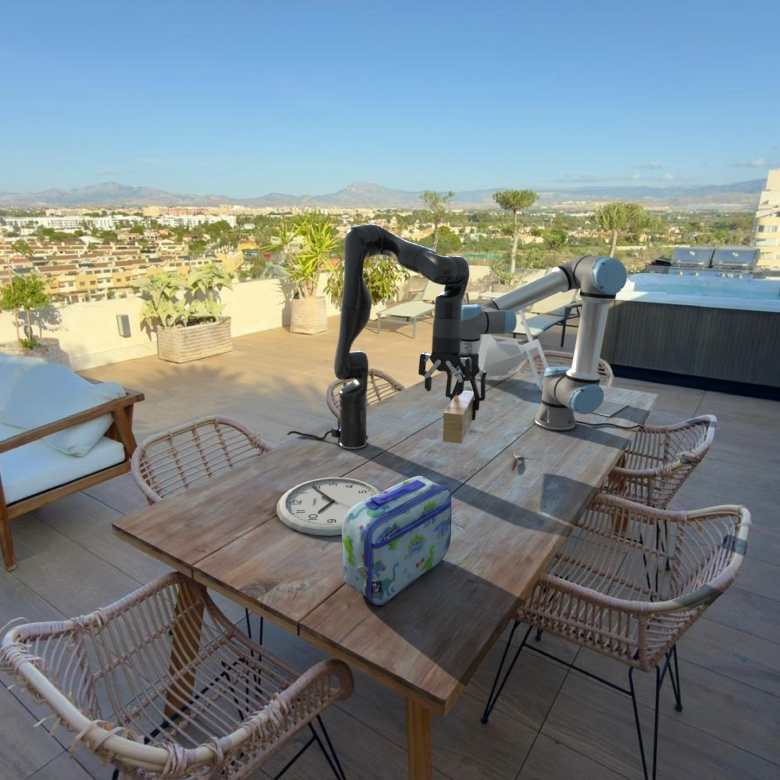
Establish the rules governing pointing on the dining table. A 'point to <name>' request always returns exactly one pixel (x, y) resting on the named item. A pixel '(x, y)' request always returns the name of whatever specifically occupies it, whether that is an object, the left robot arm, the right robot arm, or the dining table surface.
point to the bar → (458, 417)
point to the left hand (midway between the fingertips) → (443, 392)
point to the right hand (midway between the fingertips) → (464, 417)
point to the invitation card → (609, 407)
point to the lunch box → (395, 537)
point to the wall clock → (322, 504)
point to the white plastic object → (509, 354)
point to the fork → (516, 457)
